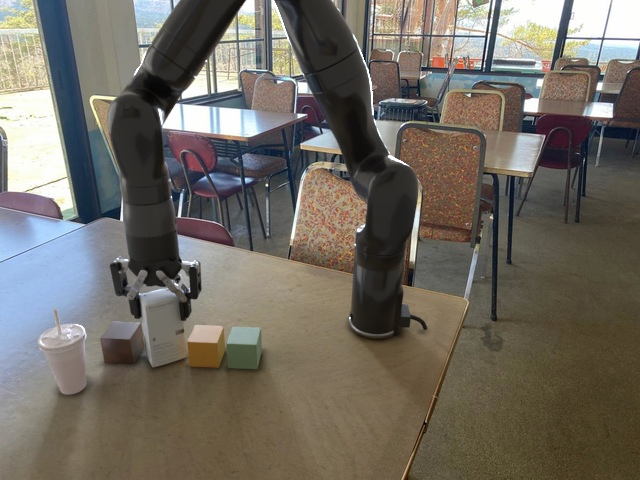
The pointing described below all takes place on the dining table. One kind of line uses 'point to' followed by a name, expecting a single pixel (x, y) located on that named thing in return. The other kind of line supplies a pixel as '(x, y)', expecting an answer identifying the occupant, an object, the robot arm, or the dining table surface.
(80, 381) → the smoothie
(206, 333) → the block ochre
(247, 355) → the block sage
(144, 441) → the dining table surface
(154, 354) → the cosmetic box
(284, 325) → the dining table surface
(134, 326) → the block walnut
